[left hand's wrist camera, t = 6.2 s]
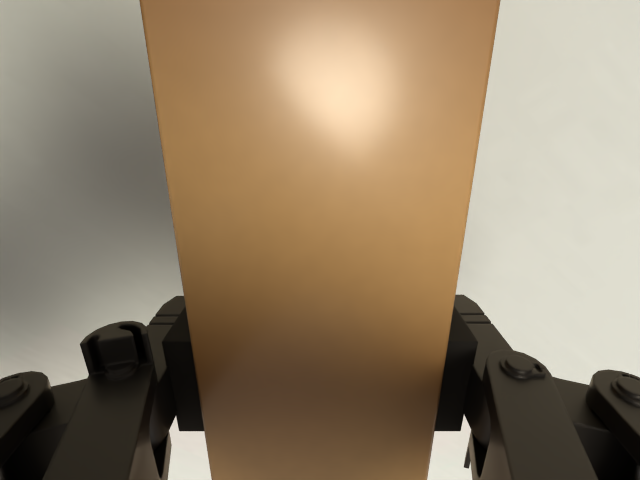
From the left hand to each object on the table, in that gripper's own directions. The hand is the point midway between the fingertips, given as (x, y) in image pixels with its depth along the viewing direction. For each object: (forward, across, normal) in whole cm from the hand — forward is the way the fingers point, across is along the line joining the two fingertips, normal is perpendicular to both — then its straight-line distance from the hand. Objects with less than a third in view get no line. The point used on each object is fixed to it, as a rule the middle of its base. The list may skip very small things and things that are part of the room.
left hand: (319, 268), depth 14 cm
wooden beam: (+1, 0, -24) cm, 25 cm away
